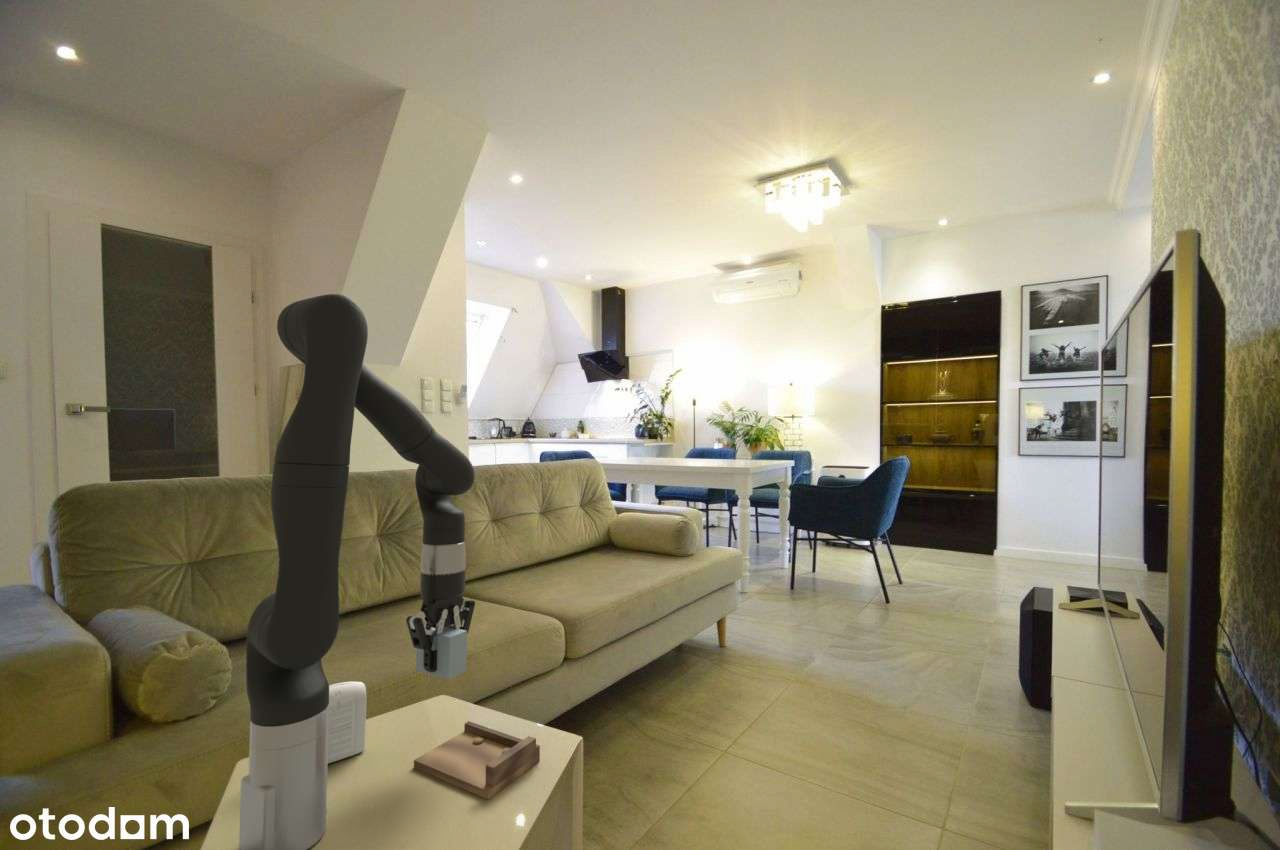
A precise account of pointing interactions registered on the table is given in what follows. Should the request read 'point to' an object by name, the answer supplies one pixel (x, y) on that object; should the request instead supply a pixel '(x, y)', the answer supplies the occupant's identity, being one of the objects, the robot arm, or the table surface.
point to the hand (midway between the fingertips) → (441, 665)
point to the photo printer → (346, 720)
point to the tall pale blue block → (447, 654)
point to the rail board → (480, 759)
